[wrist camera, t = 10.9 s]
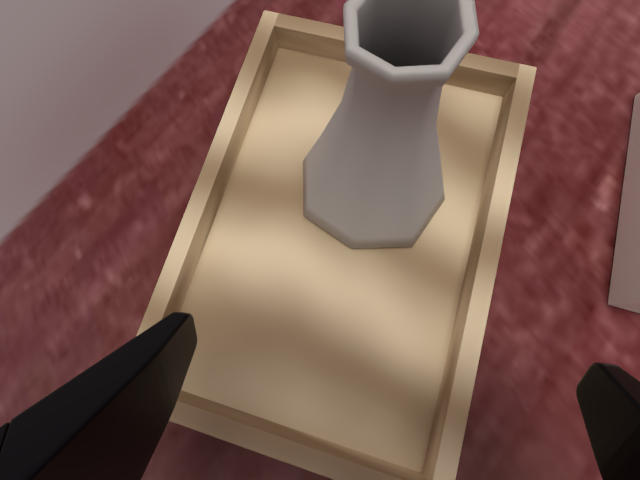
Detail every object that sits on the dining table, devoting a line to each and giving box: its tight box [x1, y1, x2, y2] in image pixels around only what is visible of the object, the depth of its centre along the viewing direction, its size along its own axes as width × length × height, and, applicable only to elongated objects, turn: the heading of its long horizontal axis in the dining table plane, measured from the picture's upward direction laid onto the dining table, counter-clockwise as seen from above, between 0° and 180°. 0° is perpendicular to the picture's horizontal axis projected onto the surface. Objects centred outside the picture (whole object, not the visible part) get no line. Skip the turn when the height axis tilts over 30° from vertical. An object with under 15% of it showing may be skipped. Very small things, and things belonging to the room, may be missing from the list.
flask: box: [303, 0, 479, 249], centre depth 13 cm, size 7×7×10 cm
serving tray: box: [137, 10, 537, 480], centre depth 17 cm, size 20×14×2 cm
